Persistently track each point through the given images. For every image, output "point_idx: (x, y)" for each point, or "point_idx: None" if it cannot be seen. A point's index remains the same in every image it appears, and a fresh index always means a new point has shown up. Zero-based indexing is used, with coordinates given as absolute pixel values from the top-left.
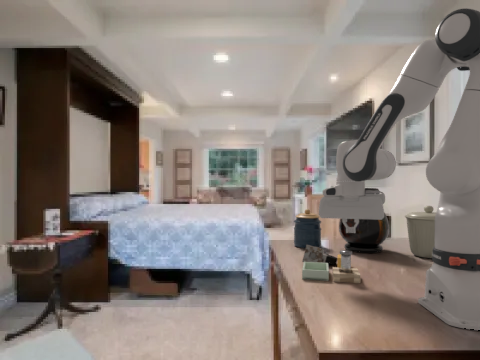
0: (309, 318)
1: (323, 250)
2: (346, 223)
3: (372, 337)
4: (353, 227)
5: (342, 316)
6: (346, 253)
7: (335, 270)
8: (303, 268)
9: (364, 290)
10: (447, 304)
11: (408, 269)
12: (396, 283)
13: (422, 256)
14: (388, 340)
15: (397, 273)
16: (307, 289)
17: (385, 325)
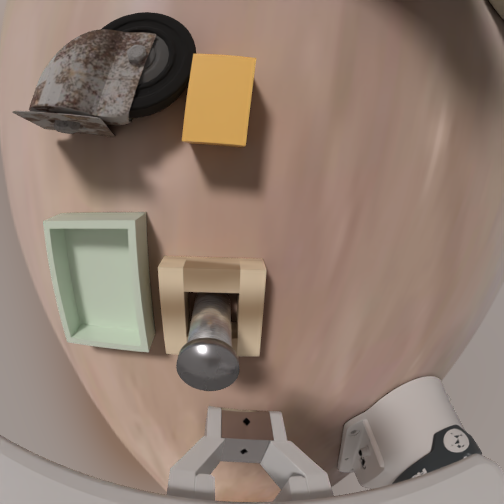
0: (157, 479)
1: (99, 119)
2: (207, 459)
3: (233, 497)
4: (261, 464)
5: None
6: (209, 388)
7: (171, 316)
8: (65, 327)
9: (255, 390)
10: (358, 465)
11: (456, 131)
12: (367, 314)
13: (495, 9)
14: (248, 498)
15: (415, 189)
16: (116, 398)
17: (255, 483)
